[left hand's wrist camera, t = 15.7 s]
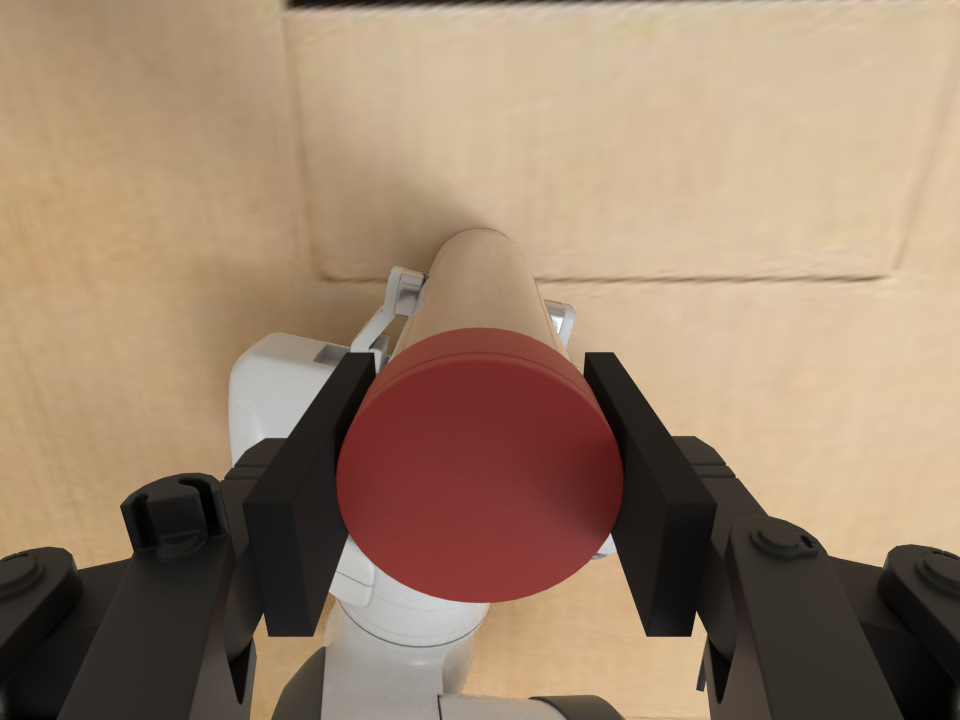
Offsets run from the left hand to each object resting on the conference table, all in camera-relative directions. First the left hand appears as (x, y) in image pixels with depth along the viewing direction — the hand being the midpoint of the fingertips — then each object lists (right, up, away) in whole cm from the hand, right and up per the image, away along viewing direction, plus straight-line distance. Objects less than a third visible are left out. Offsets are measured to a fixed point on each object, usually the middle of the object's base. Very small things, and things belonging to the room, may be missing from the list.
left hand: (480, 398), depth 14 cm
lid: (0, -1, -4) cm, 4 cm away
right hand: (0, +4, +9) cm, 10 cm away
